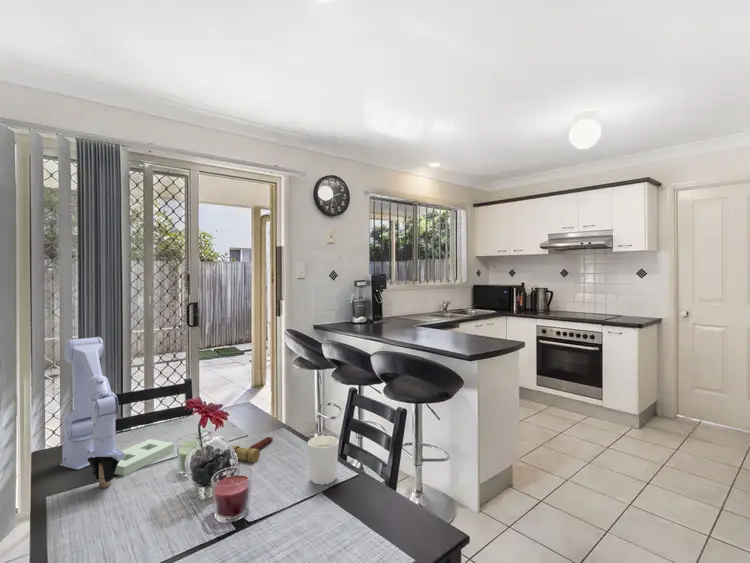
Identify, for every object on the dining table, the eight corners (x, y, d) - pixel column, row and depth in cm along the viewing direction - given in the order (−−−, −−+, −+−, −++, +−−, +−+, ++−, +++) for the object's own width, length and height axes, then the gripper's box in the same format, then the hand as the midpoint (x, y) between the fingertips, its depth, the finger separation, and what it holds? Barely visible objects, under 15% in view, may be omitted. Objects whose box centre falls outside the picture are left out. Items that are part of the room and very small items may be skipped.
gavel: (261, 430, 165) (284, 433, 162) (261, 442, 165) (283, 445, 162) (228, 448, 145) (252, 451, 142) (227, 461, 145) (252, 465, 142)
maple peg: (96, 487, 126) (96, 464, 126) (106, 482, 129) (106, 460, 129) (103, 489, 125) (103, 466, 125) (113, 484, 128) (113, 461, 128)
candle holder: (317, 489, 125) (317, 450, 125) (302, 476, 133) (302, 440, 133) (344, 480, 131) (344, 442, 131) (329, 468, 139) (329, 433, 139)
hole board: (98, 470, 137) (98, 461, 137) (149, 446, 156) (149, 438, 156) (124, 476, 133) (124, 467, 133) (173, 451, 152) (173, 443, 152)
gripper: (75, 437, 126) (75, 481, 126) (108, 444, 121) (109, 490, 121) (97, 429, 132) (98, 470, 133) (130, 435, 127) (130, 478, 127)
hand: (104, 479), depth 127 cm, fingers closed on maple peg, 3 cm apart
